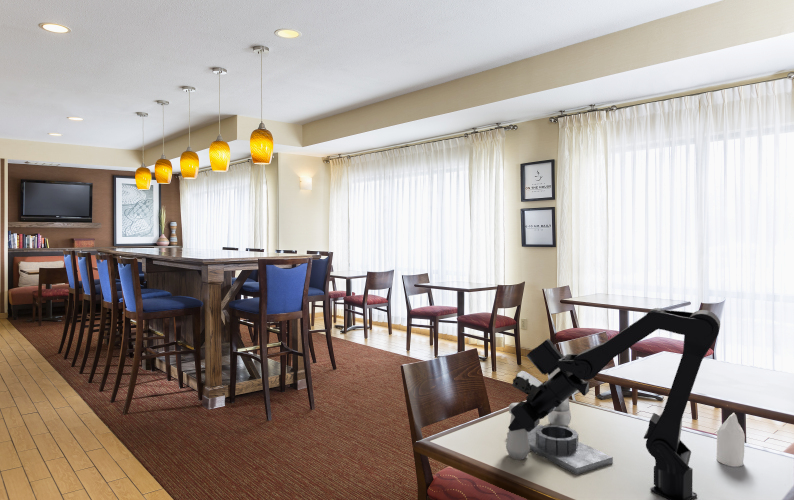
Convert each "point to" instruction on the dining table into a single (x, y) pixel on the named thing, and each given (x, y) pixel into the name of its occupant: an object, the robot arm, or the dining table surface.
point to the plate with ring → (565, 449)
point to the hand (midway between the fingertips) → (512, 426)
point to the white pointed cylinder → (730, 442)
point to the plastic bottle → (560, 410)
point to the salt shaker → (517, 441)
